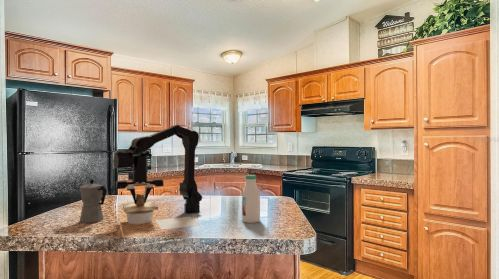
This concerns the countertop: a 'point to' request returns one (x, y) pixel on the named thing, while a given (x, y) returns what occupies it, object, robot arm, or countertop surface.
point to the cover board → (138, 208)
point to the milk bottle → (251, 201)
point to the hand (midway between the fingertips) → (140, 203)
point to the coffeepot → (92, 202)
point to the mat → (177, 222)
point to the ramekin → (139, 217)
